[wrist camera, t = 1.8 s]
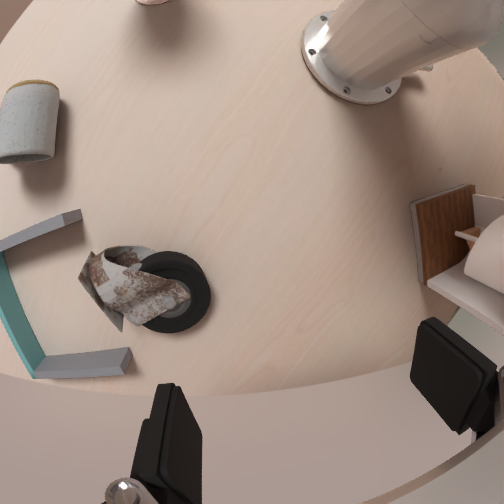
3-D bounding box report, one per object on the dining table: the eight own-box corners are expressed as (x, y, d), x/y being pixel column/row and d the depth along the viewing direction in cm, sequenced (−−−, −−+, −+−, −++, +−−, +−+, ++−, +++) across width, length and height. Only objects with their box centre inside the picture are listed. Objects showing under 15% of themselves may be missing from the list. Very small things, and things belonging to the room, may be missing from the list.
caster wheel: (214, 288, 32) (143, 327, 31) (166, 204, 27) (87, 252, 26) (230, 321, 27) (145, 365, 25) (169, 221, 21) (73, 281, 20)
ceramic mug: (73, 87, 22) (36, 69, 15) (66, 157, 24) (25, 154, 17) (11, 108, 21) (-27, 99, 14) (6, 169, 23) (-35, 172, 16)
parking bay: (79, 208, 26) (61, 213, 22) (132, 355, 31) (124, 374, 27) (-5, 244, 25) (-23, 252, 21) (44, 363, 30) (32, 378, 26)
